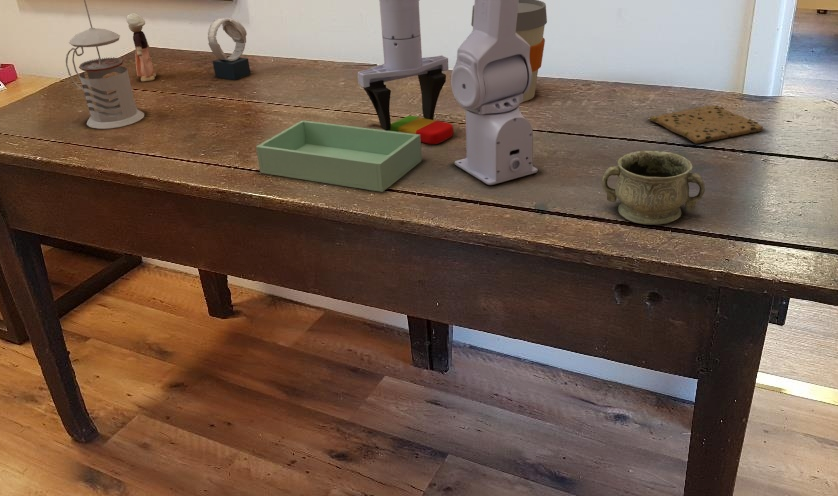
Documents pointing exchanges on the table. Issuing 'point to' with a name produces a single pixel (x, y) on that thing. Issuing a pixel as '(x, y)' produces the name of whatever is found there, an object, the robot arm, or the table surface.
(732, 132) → the cookie
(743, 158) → the table surface
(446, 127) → the popsicle
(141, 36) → the grandmother figurine
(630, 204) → the vessel
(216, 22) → the watch
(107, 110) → the french press
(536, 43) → the reusable coffee cup
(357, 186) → the tote
